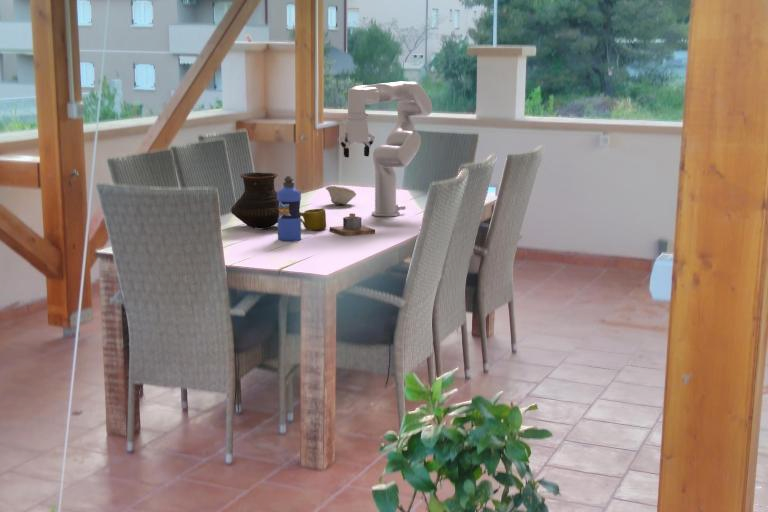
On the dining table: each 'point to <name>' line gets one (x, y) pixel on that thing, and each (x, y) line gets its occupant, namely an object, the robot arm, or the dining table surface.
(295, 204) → the water bottle
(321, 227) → the mug
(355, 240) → the dining table surface
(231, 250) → the dining table surface
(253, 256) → the dining table surface
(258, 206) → the ceramic pot
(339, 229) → the post block
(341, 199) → the bowl
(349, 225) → the collar
